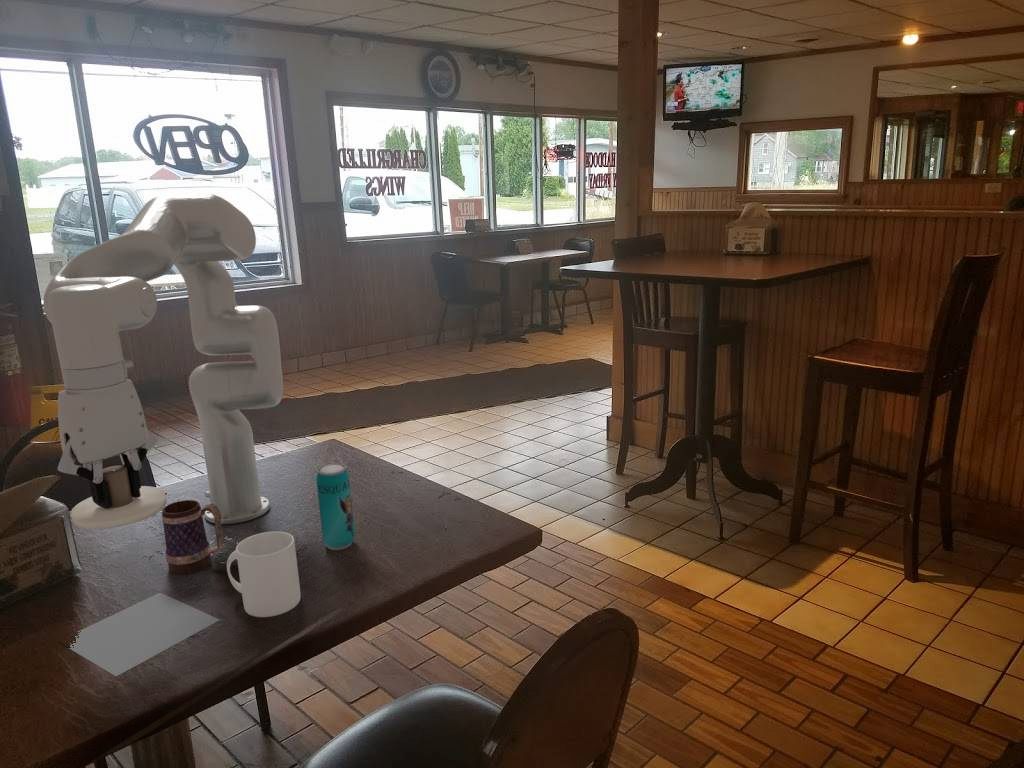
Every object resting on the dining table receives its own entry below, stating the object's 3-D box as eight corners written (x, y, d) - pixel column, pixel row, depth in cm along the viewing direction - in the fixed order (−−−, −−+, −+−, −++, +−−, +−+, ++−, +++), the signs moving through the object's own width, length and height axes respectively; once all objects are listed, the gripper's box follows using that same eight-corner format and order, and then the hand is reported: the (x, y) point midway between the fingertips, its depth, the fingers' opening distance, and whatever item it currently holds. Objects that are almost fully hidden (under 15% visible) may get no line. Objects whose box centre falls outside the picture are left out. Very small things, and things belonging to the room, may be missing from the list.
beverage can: (347, 552, 134) (339, 474, 130) (318, 550, 135) (309, 473, 131) (360, 538, 139) (353, 463, 136) (331, 537, 140) (324, 462, 137)
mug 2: (248, 586, 123) (240, 526, 121) (312, 595, 120) (305, 534, 117) (214, 613, 115) (204, 550, 113) (280, 624, 112) (272, 559, 109)
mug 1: (160, 577, 127) (149, 512, 125) (182, 558, 134) (173, 496, 131) (216, 579, 126) (206, 513, 123) (236, 559, 133) (227, 496, 130)
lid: (55, 517, 105) (46, 476, 103) (136, 487, 114) (129, 450, 113) (101, 536, 98) (93, 493, 97) (183, 503, 108) (176, 463, 106)
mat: (58, 644, 109) (57, 641, 108) (160, 595, 121) (160, 592, 121) (116, 680, 100) (116, 676, 100) (220, 623, 113) (220, 619, 112)
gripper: (138, 360, 110) (158, 476, 115) (16, 387, 97) (44, 517, 101) (167, 366, 106) (186, 485, 110) (44, 394, 92) (72, 529, 97)
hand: (118, 499), depth 106 cm, fingers closed on lid, 3 cm apart
